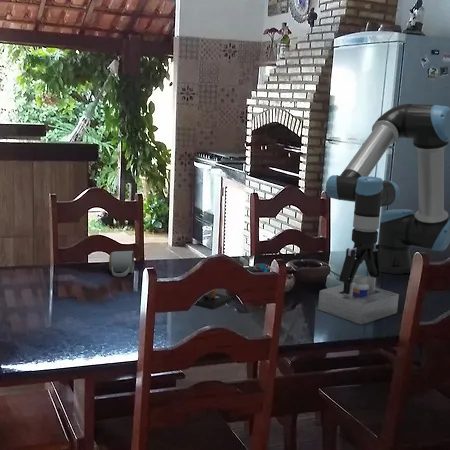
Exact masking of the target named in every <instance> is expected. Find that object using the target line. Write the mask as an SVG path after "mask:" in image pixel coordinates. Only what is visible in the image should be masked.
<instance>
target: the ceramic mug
mask: <svg viewBox="0 0 450 450" xmlns="http://www.w3.org/2000/svg"><path fill="white" fill-rule="evenodd" d="M108 259H109V260H108V266H109V271H110V272H111V274H112V275H113V276H114V277H115V278H124V277H126V276H127V275H128V274H133V273H134V270H135V253H134V250H124V251H123V250H121V251H112V252H110V254H109V257H108Z"/></svg>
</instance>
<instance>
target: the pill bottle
mask: <svg viewBox="0 0 450 450" xmlns="http://www.w3.org/2000/svg"><path fill="white" fill-rule="evenodd" d="M352 282H353V284H354V285H353V296H352V297H353V298H356V299H358V298H361V297H365V296H368V292H369V285H368V284H367V276H366V275H362V274H361V275H360V274H355V276H354V279H353V281H352Z"/></svg>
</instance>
